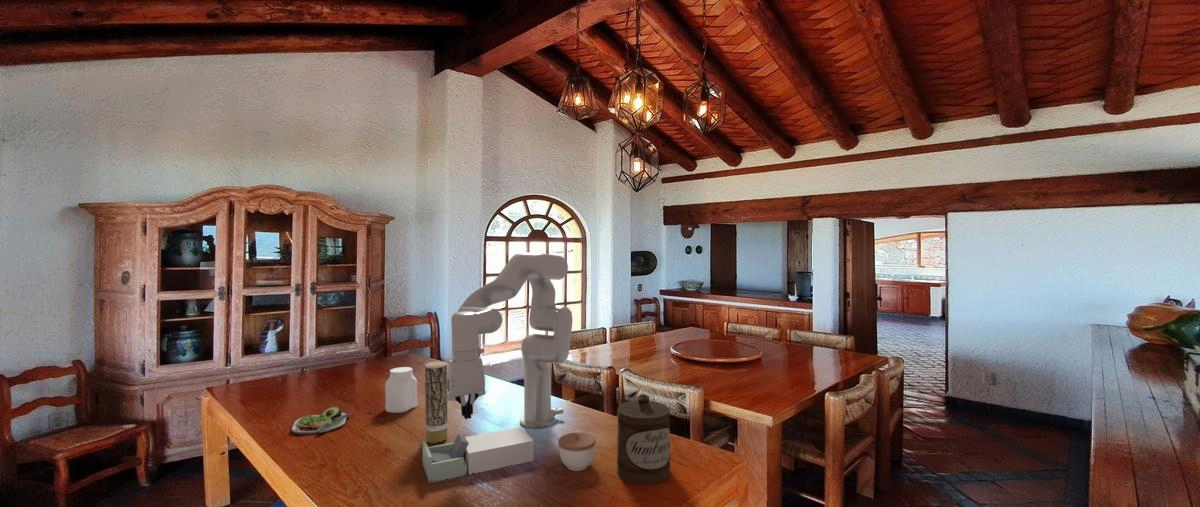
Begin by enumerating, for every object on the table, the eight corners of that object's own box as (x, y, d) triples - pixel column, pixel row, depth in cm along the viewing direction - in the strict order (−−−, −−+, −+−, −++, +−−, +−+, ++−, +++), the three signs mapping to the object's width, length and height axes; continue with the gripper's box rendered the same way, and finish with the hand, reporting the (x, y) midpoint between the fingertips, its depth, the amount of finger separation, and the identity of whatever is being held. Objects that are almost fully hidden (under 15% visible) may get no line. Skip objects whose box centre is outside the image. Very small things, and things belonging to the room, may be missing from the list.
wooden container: (632, 489, 126) (632, 406, 125) (608, 465, 139) (608, 390, 139) (680, 478, 132) (680, 399, 131) (653, 457, 145) (653, 384, 145)
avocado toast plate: (347, 433, 164) (347, 420, 164) (285, 441, 157) (285, 427, 157) (352, 415, 182) (352, 402, 182) (297, 421, 175) (297, 408, 175)
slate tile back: (464, 435, 142) (458, 433, 141) (468, 443, 137) (462, 441, 136) (455, 455, 141) (448, 453, 140) (459, 463, 136) (452, 462, 135)
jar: (403, 401, 196) (403, 365, 196) (421, 404, 192) (421, 367, 192) (380, 410, 185) (380, 372, 185) (399, 414, 182) (399, 374, 181)
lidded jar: (567, 478, 132) (567, 444, 132) (552, 462, 141) (552, 430, 141) (602, 469, 137) (602, 437, 137) (585, 455, 146) (585, 424, 146)
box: (458, 458, 144) (457, 435, 144) (466, 475, 133) (466, 450, 133) (422, 465, 139) (422, 441, 139) (429, 483, 129) (428, 457, 129)
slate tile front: (429, 452, 137) (427, 459, 137) (432, 460, 132) (430, 467, 132) (450, 454, 140) (447, 461, 140) (454, 462, 135) (451, 469, 134)
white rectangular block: (520, 445, 153) (520, 427, 153) (533, 460, 143) (533, 440, 142) (459, 457, 144) (459, 438, 144) (468, 474, 134) (468, 453, 134)
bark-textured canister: (440, 445, 153) (440, 367, 153) (421, 443, 155) (420, 366, 154) (451, 436, 160) (451, 362, 160) (432, 435, 161) (432, 361, 161)
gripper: (488, 348, 146) (489, 408, 146) (436, 355, 139) (438, 417, 139) (494, 354, 139) (496, 416, 140) (441, 361, 132) (442, 427, 133)
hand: (467, 417), depth 140 cm, fingers closed
